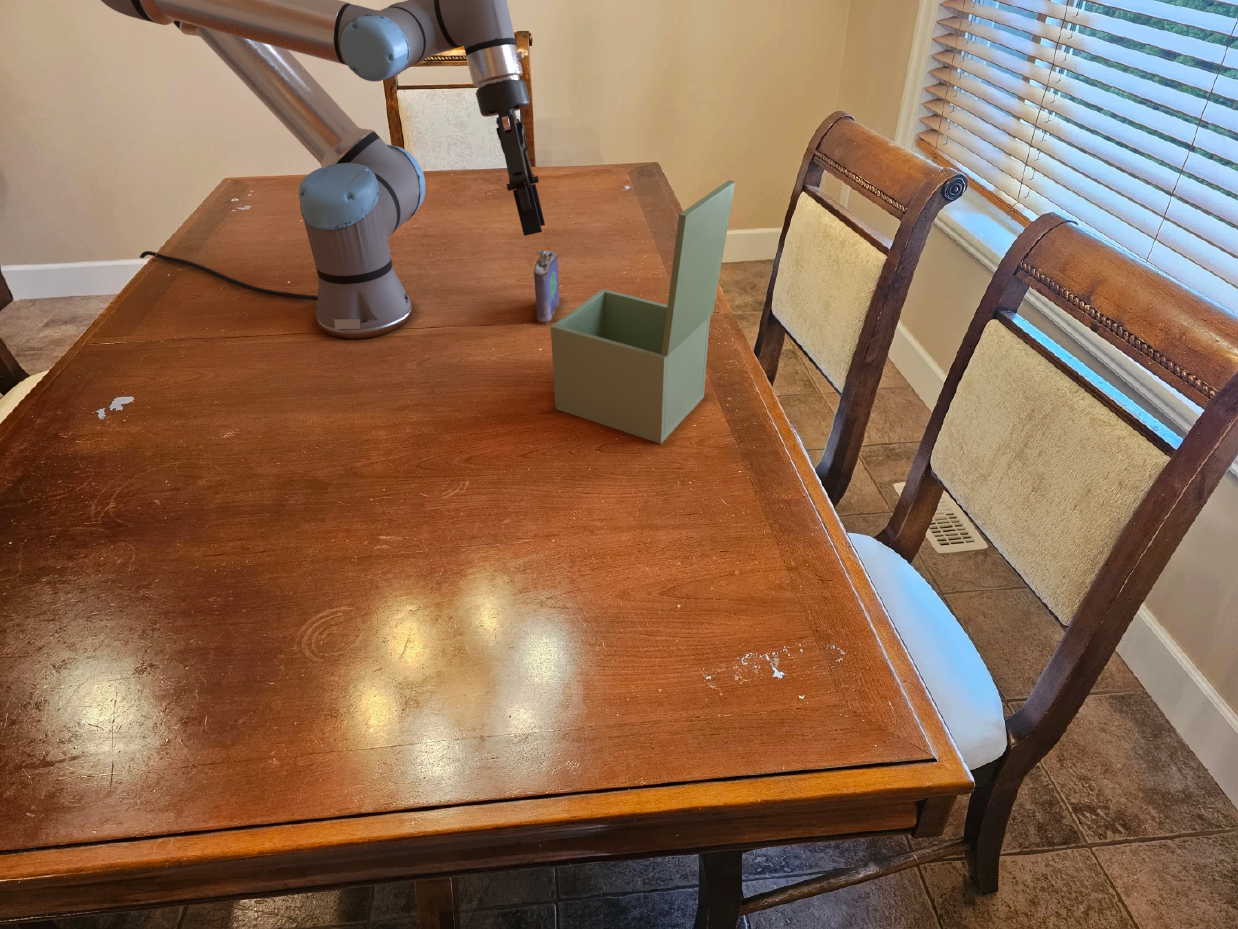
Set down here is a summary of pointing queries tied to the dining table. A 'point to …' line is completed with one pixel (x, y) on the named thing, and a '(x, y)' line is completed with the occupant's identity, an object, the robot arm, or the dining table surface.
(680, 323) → the lid
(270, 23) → the robot arm
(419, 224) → the dining table surface
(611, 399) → the chest
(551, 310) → the flask
